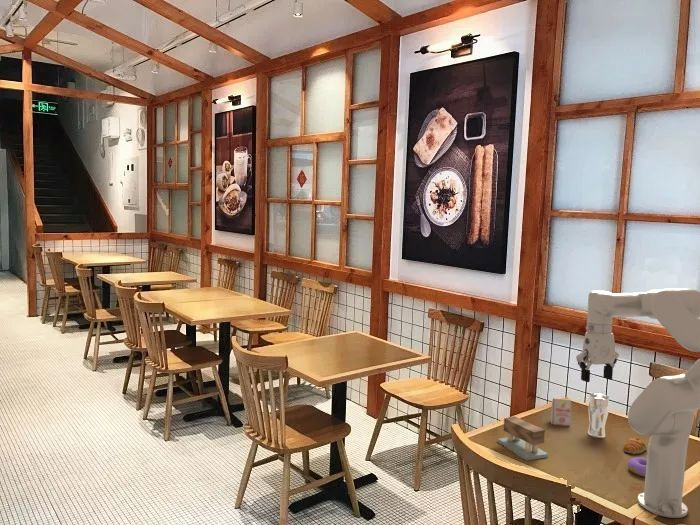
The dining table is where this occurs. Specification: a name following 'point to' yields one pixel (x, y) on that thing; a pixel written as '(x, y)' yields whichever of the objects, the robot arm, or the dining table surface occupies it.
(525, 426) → the plank
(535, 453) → the peg board
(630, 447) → the pastry
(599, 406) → the beer glass
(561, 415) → the white printed box
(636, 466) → the donut
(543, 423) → the dining table surface
